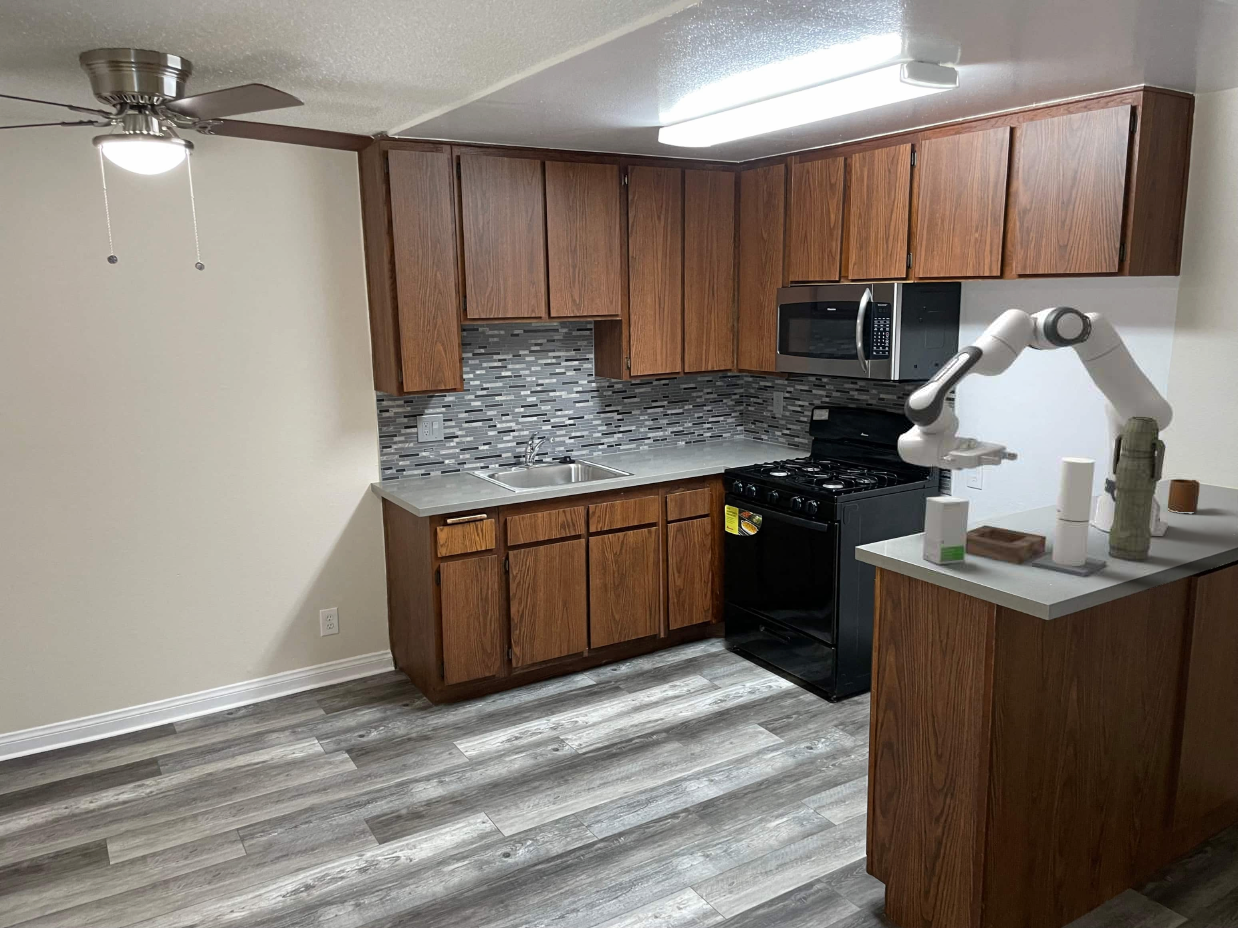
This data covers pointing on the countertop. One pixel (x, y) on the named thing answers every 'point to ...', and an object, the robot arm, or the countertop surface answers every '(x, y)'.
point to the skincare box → (945, 529)
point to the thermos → (1135, 487)
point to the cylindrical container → (1073, 511)
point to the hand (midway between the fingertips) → (1008, 459)
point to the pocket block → (1004, 544)
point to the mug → (1183, 495)
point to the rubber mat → (1081, 570)
